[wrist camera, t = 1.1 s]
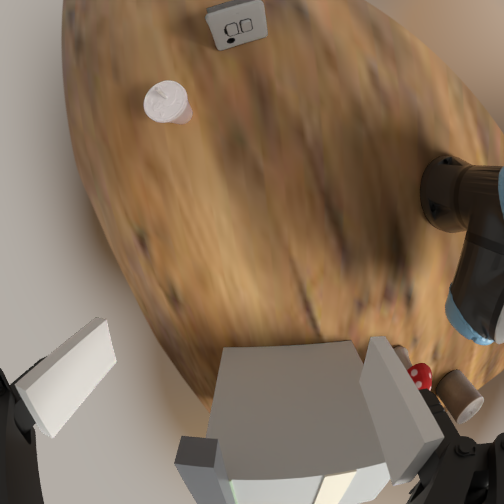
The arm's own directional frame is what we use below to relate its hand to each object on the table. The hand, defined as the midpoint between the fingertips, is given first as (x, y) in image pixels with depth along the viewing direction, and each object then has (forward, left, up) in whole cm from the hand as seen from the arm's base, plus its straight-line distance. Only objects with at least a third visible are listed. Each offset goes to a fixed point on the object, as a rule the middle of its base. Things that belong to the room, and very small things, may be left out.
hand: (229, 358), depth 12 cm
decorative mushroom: (-40, +18, -36) cm, 56 cm away
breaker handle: (-5, +27, -5) cm, 28 cm away
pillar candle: (-67, +24, -36) cm, 80 cm away
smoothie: (+17, -15, -36) cm, 42 cm away
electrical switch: (+13, -33, -36) cm, 50 cm away
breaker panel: (-17, +28, -35) cm, 48 cm away
